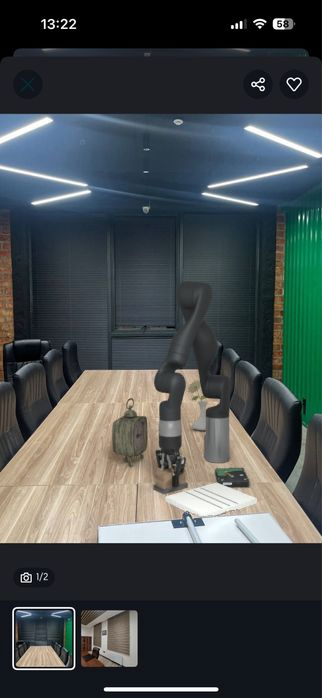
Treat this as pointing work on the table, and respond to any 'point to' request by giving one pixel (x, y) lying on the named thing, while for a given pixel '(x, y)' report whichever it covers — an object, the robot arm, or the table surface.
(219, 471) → the disk drive
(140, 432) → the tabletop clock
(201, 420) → the flower in vase
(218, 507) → the board
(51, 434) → the table surface
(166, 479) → the sanding block
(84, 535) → the table surface
